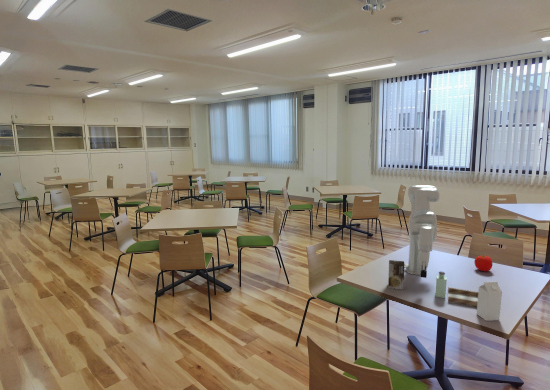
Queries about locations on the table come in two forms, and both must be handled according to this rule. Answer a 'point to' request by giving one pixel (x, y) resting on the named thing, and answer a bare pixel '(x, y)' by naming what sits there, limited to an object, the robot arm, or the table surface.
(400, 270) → the coffee box
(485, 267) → the tomato
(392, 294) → the table surface
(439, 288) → the bottle
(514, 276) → the table surface
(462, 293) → the brown white flat box
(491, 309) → the milk carton
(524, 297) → the table surface
